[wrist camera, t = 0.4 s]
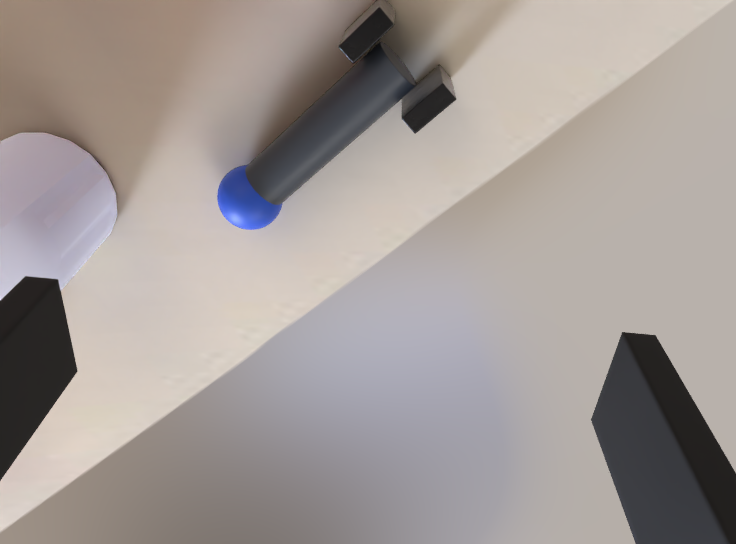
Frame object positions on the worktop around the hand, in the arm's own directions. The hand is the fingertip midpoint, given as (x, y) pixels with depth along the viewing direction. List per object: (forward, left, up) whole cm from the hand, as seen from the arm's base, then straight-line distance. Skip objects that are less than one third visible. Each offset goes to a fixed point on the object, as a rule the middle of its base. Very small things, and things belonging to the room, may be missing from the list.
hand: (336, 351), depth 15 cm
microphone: (+6, 0, -27) cm, 28 cm away
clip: (-2, 0, -27) cm, 27 cm away
